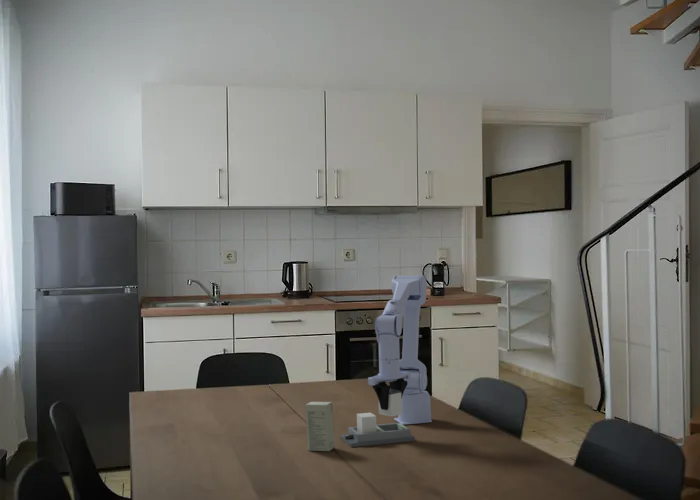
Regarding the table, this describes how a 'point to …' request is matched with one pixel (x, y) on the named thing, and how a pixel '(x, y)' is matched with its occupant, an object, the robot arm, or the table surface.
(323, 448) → the skincare box
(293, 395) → the table surface
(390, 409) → the plug
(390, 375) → the robot arm
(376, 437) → the socket board
